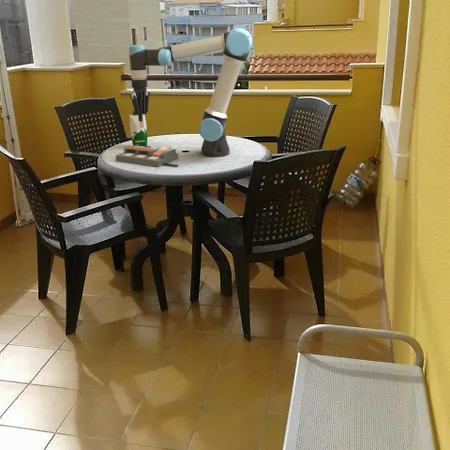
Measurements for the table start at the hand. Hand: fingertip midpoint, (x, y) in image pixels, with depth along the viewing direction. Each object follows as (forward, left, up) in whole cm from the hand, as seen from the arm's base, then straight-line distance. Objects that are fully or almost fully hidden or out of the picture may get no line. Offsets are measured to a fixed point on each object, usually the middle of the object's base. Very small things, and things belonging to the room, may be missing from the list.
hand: (142, 127), depth 265 cm
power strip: (-5, -1, -17) cm, 18 cm away
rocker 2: (-8, -4, -12) cm, 15 cm away
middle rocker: (0, -4, -12) cm, 13 cm away
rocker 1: (+8, -4, -12) cm, 15 cm away
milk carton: (+21, -21, -17) cm, 34 cm away
